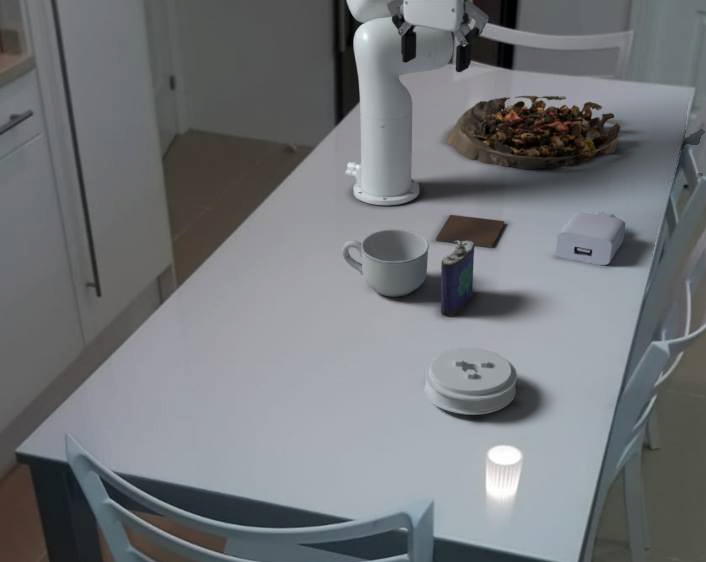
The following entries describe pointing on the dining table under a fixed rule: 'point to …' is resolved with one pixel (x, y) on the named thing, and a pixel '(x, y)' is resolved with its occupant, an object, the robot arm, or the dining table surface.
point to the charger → (591, 237)
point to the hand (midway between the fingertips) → (435, 65)
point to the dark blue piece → (457, 278)
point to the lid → (470, 381)
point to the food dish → (532, 134)
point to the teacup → (391, 260)
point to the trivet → (470, 230)
